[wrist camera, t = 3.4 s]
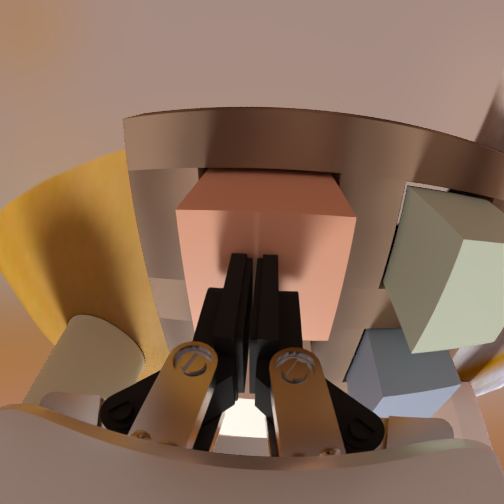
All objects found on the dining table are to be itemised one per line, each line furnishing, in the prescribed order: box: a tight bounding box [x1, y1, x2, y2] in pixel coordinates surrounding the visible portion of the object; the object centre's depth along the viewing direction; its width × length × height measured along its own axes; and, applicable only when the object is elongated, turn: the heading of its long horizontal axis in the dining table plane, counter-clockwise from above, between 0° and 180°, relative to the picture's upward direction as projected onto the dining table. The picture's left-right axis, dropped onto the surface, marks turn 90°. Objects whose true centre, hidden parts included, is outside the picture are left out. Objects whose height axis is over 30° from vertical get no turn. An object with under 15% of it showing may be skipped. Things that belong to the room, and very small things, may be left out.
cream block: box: [219, 340, 311, 438], centre depth 17 cm, size 6×6×6 cm
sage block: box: [383, 186, 504, 354], centre depth 12 cm, size 6×6×6 cm
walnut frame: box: [123, 107, 504, 394], centre depth 18 cm, size 24×22×2 cm
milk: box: [431, 382, 492, 448], centre depth 18 cm, size 6×6×22 cm
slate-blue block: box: [346, 328, 462, 418], centre depth 17 cm, size 6×6×6 cm
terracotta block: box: [176, 168, 357, 341], centre depth 13 cm, size 6×6×6 cm
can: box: [22, 315, 145, 406], centre depth 20 cm, size 9×9×12 cm
